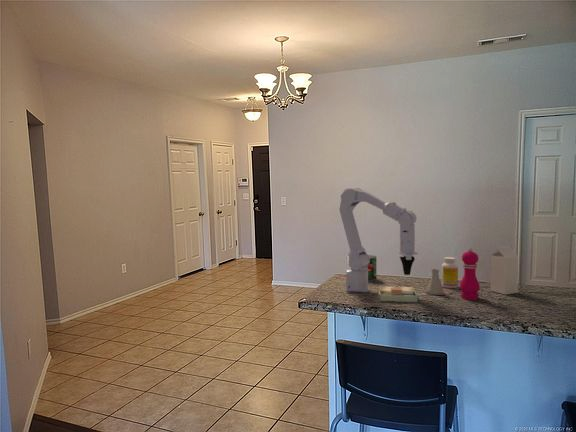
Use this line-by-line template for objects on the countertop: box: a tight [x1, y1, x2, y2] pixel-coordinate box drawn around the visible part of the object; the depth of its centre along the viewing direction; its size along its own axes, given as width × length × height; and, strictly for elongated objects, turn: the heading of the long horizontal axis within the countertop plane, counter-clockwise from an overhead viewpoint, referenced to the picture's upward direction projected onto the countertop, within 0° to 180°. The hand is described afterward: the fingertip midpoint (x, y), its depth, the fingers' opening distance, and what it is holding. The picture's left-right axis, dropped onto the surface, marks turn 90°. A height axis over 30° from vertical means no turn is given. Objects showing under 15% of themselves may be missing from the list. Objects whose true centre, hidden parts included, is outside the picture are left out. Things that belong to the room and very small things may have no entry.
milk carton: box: [490, 245, 519, 295], centre depth 170 cm, size 7×7×19 cm
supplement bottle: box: [441, 256, 459, 289], centre depth 181 cm, size 7×7×13 cm
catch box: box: [378, 290, 419, 303], centre depth 162 cm, size 15×6×2 cm, turn 80°
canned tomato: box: [367, 254, 378, 282], centre depth 199 cm, size 8×8×11 cm
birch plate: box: [378, 285, 416, 296], centre depth 169 cm, size 14×8×2 cm, turn 80°
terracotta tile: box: [391, 288, 402, 295], centre depth 161 cm, size 4×4×2 cm
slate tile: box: [402, 291, 413, 295], centre depth 162 cm, size 4×4×2 cm
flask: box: [425, 268, 445, 296], centre depth 171 cm, size 7×7×10 cm
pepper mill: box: [459, 247, 481, 301], centre depth 162 cm, size 7×7×20 cm
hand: (406, 274), depth 167 cm, fingers closed
